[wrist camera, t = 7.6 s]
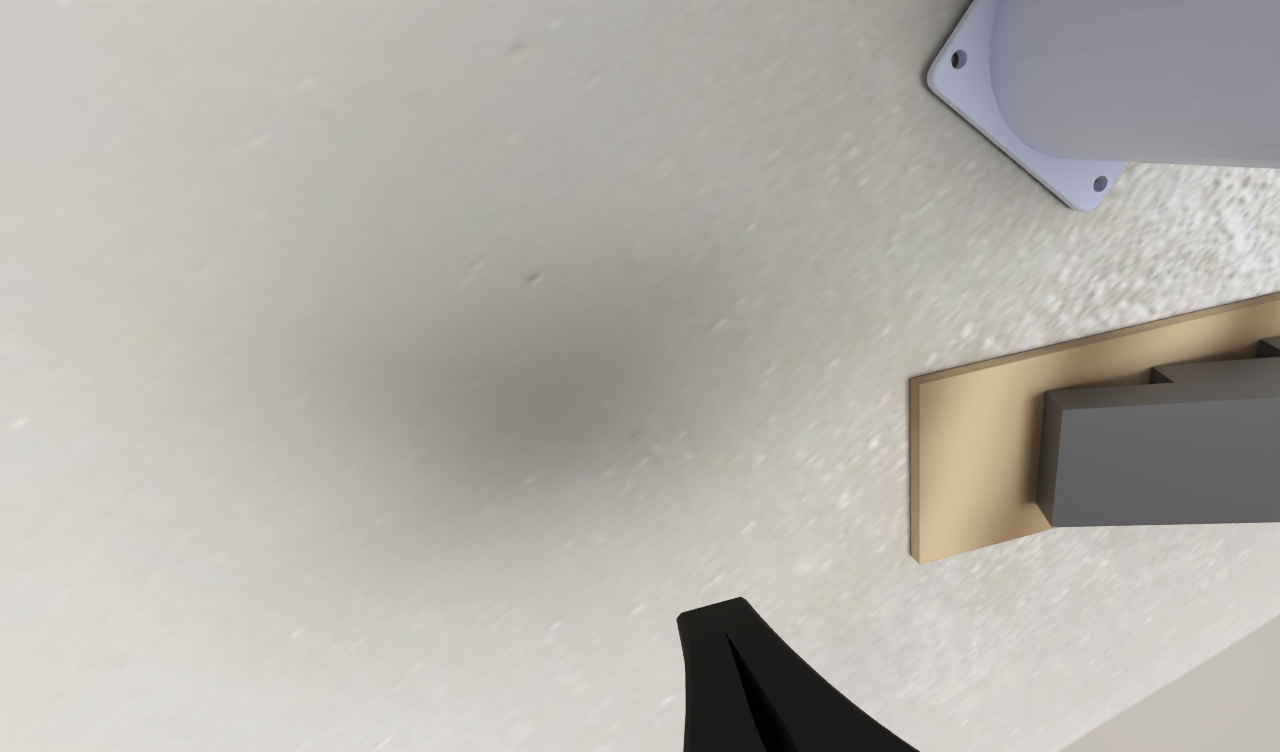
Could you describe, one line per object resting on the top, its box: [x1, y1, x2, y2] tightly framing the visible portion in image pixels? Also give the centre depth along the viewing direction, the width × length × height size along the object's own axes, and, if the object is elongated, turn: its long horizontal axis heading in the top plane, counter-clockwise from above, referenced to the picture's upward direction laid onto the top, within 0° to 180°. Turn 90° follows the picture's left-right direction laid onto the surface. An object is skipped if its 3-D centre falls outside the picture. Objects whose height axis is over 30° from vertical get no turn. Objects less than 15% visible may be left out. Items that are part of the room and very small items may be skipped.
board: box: [910, 292, 1280, 564], centre depth 26 cm, size 26×8×1 cm, turn 99°
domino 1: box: [1149, 357, 1280, 384], centre depth 24 cm, size 2×5×8 cm
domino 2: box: [1036, 376, 1280, 527], centre depth 24 cm, size 2×5×8 cm
